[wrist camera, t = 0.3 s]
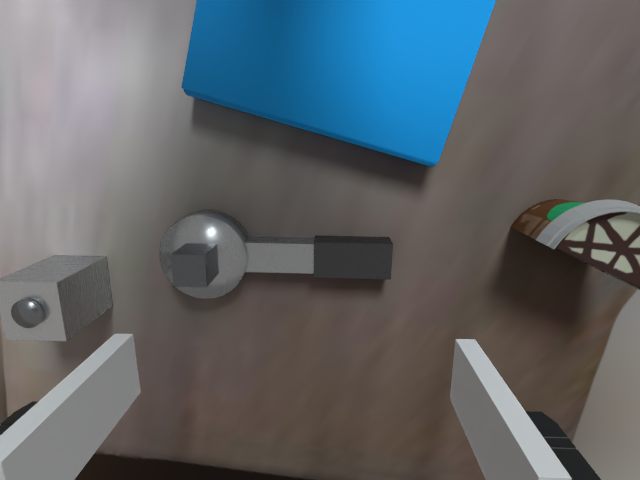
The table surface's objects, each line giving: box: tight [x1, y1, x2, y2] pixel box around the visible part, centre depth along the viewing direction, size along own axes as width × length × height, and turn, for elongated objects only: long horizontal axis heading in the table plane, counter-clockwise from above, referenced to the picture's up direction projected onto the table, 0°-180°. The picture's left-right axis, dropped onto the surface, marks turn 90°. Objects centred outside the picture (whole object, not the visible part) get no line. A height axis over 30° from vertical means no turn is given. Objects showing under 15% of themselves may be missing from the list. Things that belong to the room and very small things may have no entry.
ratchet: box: [160, 210, 393, 299], centre depth 40 cm, size 9×24×7 cm, turn 89°
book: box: [182, 0, 496, 167], centre depth 37 cm, size 17×4×25 cm
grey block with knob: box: [0, 255, 113, 341], centre depth 41 cm, size 6×6×9 cm
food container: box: [511, 199, 640, 290], centre depth 37 cm, size 12×6×10 cm, turn 65°
